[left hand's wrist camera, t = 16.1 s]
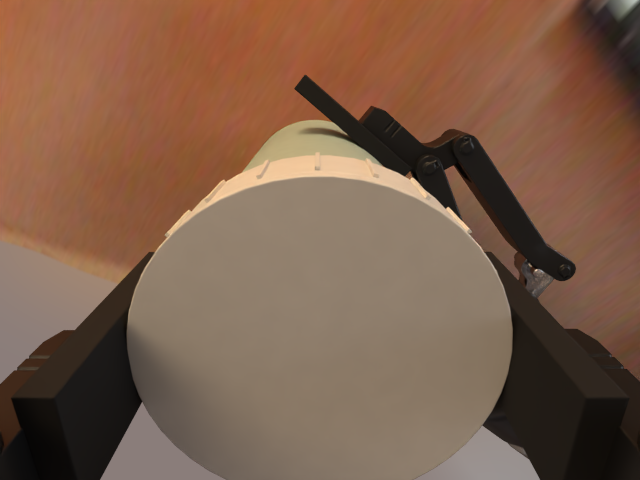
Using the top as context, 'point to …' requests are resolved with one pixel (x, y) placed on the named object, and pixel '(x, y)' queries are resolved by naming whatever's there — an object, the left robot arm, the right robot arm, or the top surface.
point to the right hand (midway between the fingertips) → (242, 157)
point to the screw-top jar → (309, 143)
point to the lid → (319, 326)
